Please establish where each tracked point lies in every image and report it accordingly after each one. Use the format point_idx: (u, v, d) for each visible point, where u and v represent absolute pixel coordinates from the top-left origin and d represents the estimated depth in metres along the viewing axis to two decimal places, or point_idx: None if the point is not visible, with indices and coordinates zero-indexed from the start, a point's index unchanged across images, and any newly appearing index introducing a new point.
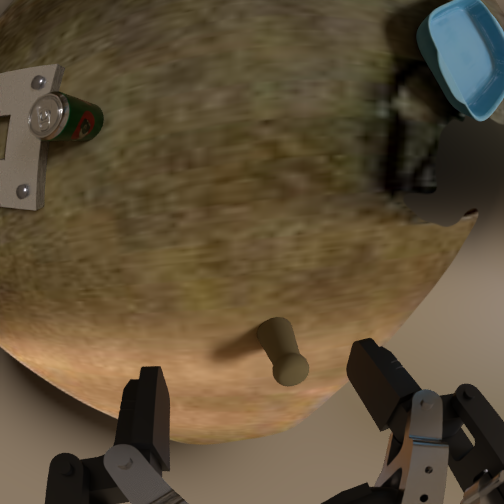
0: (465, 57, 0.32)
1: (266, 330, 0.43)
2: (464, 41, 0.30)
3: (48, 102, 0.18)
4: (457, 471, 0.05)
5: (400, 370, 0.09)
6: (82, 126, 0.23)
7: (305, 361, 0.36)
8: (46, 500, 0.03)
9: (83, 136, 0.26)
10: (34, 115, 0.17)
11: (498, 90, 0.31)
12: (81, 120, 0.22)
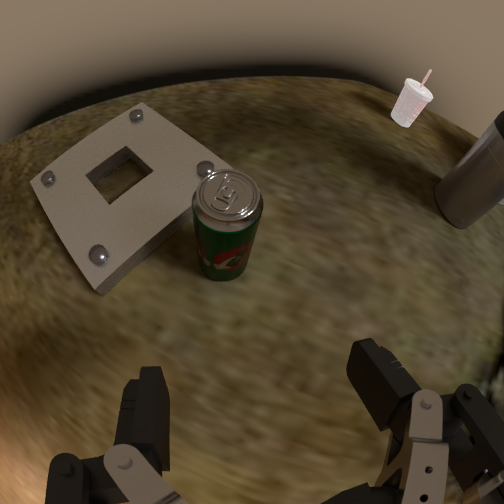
0: None
1: None
2: None
3: (241, 185, 0.19)
4: (457, 471, 0.05)
5: (400, 370, 0.09)
6: (239, 254, 0.22)
7: None
8: (46, 500, 0.03)
9: (221, 268, 0.24)
10: (215, 182, 0.19)
11: None
12: (246, 246, 0.22)
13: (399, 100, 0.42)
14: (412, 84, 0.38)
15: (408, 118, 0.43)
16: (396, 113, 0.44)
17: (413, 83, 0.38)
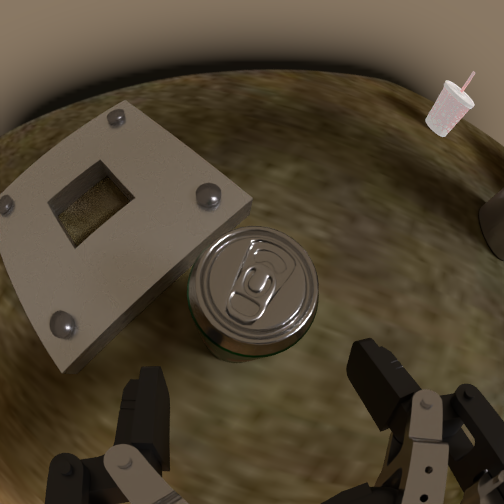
0: None
1: None
2: None
3: (282, 260, 0.10)
4: (457, 471, 0.05)
5: (400, 370, 0.09)
6: None
7: None
8: (46, 500, 0.03)
9: (237, 361, 0.15)
10: (233, 257, 0.10)
11: None
12: None
13: (437, 105, 0.33)
14: (452, 87, 0.29)
15: (446, 127, 0.34)
16: (433, 120, 0.35)
17: (453, 87, 0.29)
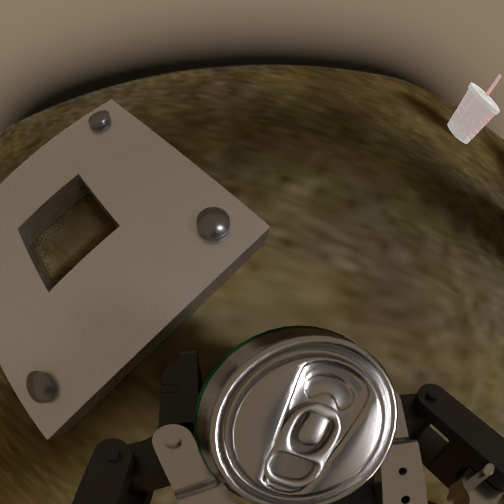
0: None
1: None
2: None
3: (347, 386, 0.05)
4: (435, 469, 0.06)
5: None
6: None
7: None
8: (82, 481, 0.04)
9: None
10: (273, 398, 0.05)
11: None
12: None
13: (461, 109, 0.28)
14: (477, 90, 0.24)
15: (470, 133, 0.29)
16: (456, 126, 0.30)
17: (478, 90, 0.25)
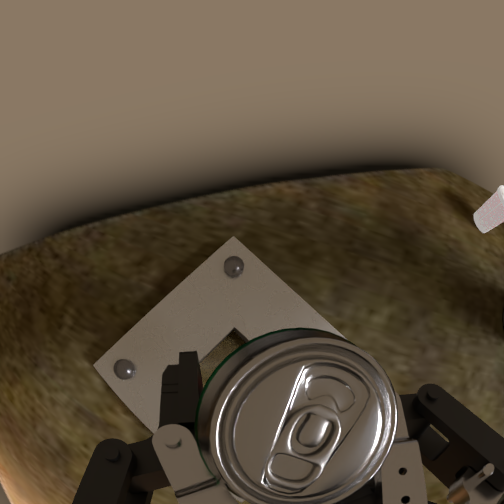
0: None
1: None
2: None
3: (348, 388, 0.05)
4: (435, 469, 0.06)
5: None
6: None
7: None
8: (82, 481, 0.04)
9: None
10: (273, 400, 0.05)
11: None
12: None
13: (487, 208, 0.36)
14: None
15: (490, 227, 0.37)
16: (481, 221, 0.38)
17: None
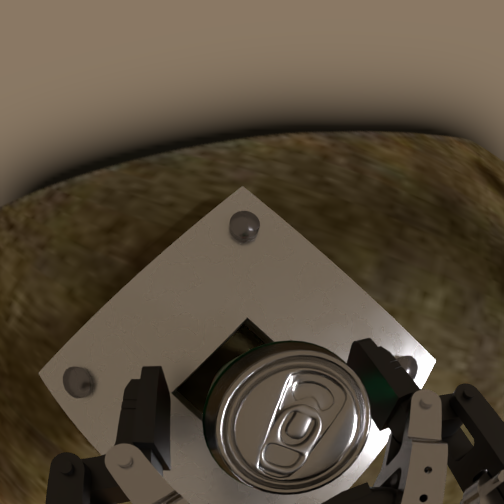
0: None
1: None
2: None
3: (328, 391, 0.07)
4: (457, 471, 0.05)
5: (399, 370, 0.09)
6: None
7: None
8: (47, 500, 0.03)
9: None
10: (266, 400, 0.06)
11: None
12: None
13: None
14: None
15: None
16: None
17: None
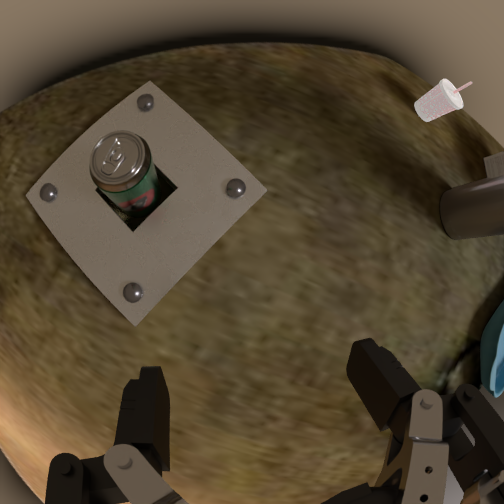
0: None
1: None
2: None
3: (130, 145, 0.18)
4: (457, 471, 0.05)
5: (400, 370, 0.09)
6: (138, 201, 0.23)
7: None
8: (46, 500, 0.03)
9: (129, 210, 0.25)
10: (107, 145, 0.17)
11: None
12: (143, 196, 0.22)
13: (428, 97, 0.37)
14: (446, 87, 0.32)
15: (431, 116, 0.39)
16: (421, 107, 0.39)
17: (448, 86, 0.33)
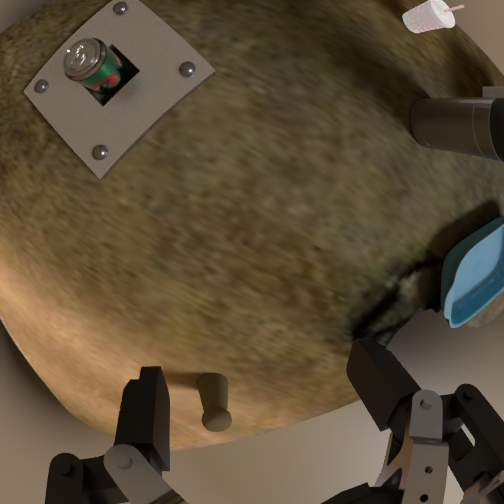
0: (476, 266, 0.53)
1: (210, 380, 0.47)
2: (484, 251, 0.52)
3: (90, 47, 0.18)
4: (457, 471, 0.05)
5: (400, 370, 0.09)
6: (102, 84, 0.23)
7: (231, 419, 0.41)
8: (46, 500, 0.03)
9: (99, 91, 0.25)
10: (74, 50, 0.17)
11: (486, 296, 0.53)
12: (104, 79, 0.23)
13: (416, 10, 0.26)
14: (436, 5, 0.22)
15: (418, 28, 0.29)
16: (408, 18, 0.29)
17: (438, 4, 0.22)
